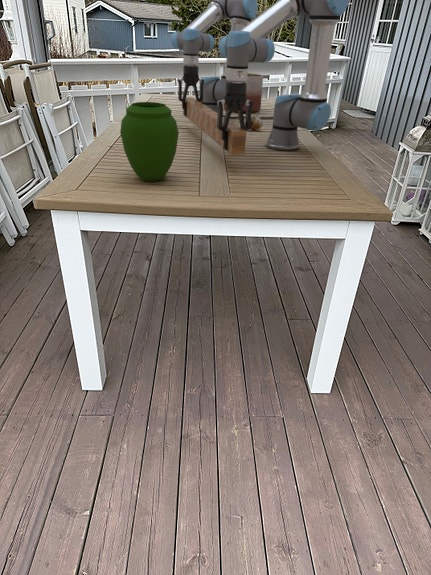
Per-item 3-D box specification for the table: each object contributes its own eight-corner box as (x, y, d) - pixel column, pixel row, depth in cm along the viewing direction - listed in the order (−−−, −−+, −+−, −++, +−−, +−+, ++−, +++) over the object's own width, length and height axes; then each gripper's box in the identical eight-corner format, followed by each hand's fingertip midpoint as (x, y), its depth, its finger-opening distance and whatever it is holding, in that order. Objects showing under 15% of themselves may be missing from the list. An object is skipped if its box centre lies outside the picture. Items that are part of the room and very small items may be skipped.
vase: (131, 189, 135) (125, 110, 122) (118, 172, 150) (112, 100, 137) (186, 184, 142) (187, 109, 129) (169, 168, 157) (167, 99, 144)
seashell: (261, 129, 230) (262, 114, 225) (263, 131, 225) (265, 115, 221) (244, 128, 228) (245, 113, 224) (246, 131, 224) (247, 115, 219)
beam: (183, 114, 219) (183, 97, 215) (192, 114, 221) (192, 97, 216) (231, 155, 152) (233, 131, 147) (244, 154, 153) (246, 131, 149)
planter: (264, 113, 274) (268, 77, 262) (227, 113, 270) (229, 75, 258) (255, 107, 295) (258, 73, 283) (220, 106, 291) (222, 72, 279)
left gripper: (174, 65, 196) (175, 117, 209) (210, 66, 201) (209, 116, 214) (171, 64, 202) (172, 114, 215) (206, 65, 207) (205, 114, 220)
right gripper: (214, 83, 140) (212, 152, 153) (264, 83, 145) (257, 150, 157) (208, 80, 146) (207, 147, 159) (256, 80, 151) (251, 145, 163)
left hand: (190, 115), depth 214 cm, fingers closed on beam, 5 cm apart
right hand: (232, 148), depth 158 cm, fingers closed on beam, 5 cm apart
